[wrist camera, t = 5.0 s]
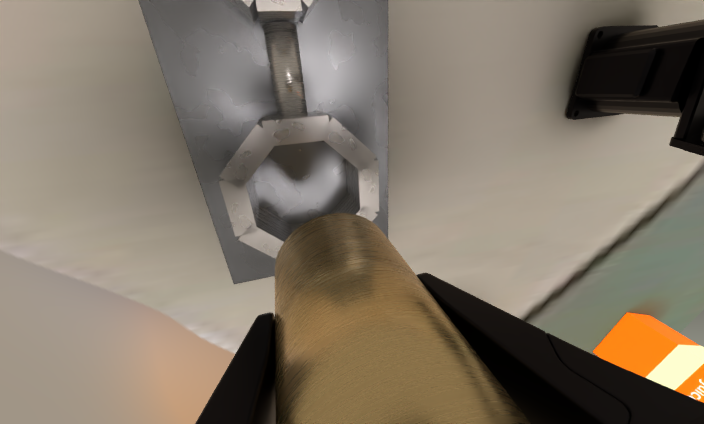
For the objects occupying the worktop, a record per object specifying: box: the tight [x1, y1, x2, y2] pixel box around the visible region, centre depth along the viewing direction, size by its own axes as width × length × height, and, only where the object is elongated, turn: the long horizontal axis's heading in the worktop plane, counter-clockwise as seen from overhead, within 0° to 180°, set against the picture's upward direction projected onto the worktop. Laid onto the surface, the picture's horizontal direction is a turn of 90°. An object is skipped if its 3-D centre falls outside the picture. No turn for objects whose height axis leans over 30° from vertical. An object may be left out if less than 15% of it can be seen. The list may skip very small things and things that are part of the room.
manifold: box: [138, 0, 388, 284], centre depth 14 cm, size 12×24×4 cm, turn 3°
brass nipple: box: [275, 213, 531, 424], centre depth 6 cm, size 4×4×8 cm
